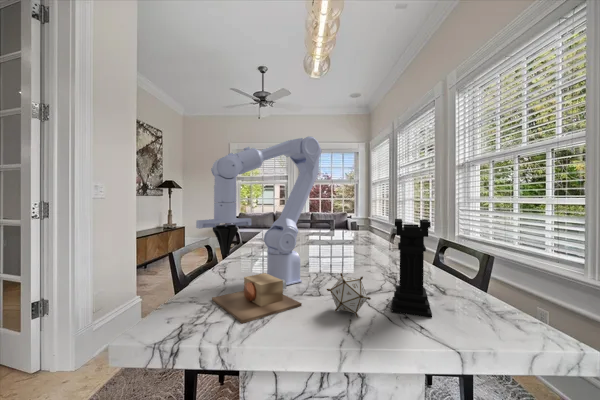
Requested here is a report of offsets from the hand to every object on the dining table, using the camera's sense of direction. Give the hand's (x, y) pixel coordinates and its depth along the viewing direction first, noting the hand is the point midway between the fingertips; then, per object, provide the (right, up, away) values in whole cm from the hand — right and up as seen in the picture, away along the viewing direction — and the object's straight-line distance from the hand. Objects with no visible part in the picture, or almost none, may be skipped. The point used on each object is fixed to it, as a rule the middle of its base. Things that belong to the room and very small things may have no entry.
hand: (225, 254), depth 74 cm
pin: (+12, -9, -6) cm, 16 cm away
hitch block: (+9, -10, -8) cm, 16 cm away
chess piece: (+45, -11, -10) cm, 47 cm away
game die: (+30, -10, -13) cm, 35 cm away
